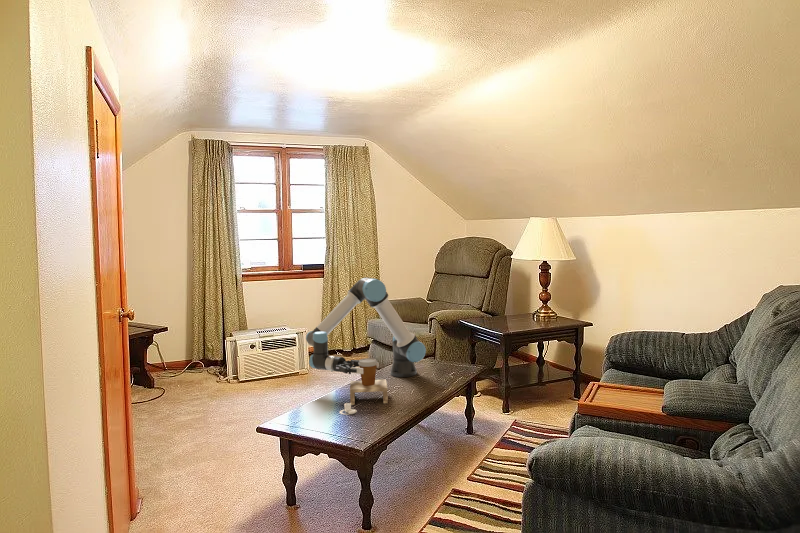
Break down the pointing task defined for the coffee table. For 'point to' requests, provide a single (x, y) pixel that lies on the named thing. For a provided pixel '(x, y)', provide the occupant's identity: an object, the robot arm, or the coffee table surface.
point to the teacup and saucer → (348, 409)
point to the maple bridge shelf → (368, 389)
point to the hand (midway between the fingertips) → (370, 368)
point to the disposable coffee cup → (368, 371)
